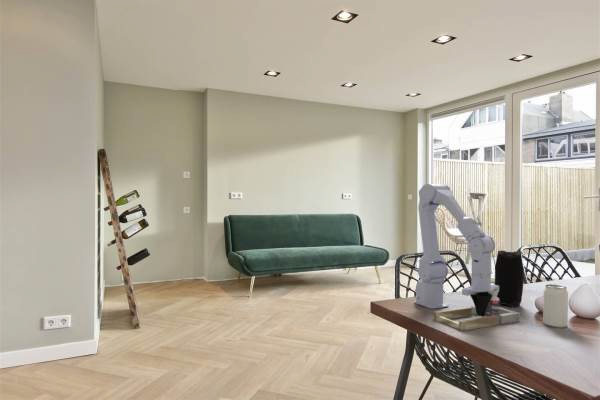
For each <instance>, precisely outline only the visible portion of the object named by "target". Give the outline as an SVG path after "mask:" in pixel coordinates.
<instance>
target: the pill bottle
mask: <svg viewBox="0 0 600 400" xmlns="http://www.w3.org/2000/svg"><path fill="white" fill-rule="evenodd" d="M488 294H492V298H491V300H490V301H489V303H488V305H487V308H486V311H485V315H484V316H481V317H486V316H493V315H496V316H498V315H499V307H500V305H499V298H498V297H497V294H498V291H496V290H493V292H488Z"/></svg>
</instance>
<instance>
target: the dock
mask: <svg viewBox="0 0 600 400" xmlns="http://www.w3.org/2000/svg"><path fill="white" fill-rule="evenodd" d="M470 307H471V308H472V315H476V316H478V315H477V312H476V308H475V305H471V306H470ZM498 316H499V324H501V325H503V324H509V323H514V322H519V321H520V312H518V311H517V312H516V311H514V310H510V309H507V308H504V307H500V306H499V315H498Z"/></svg>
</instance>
